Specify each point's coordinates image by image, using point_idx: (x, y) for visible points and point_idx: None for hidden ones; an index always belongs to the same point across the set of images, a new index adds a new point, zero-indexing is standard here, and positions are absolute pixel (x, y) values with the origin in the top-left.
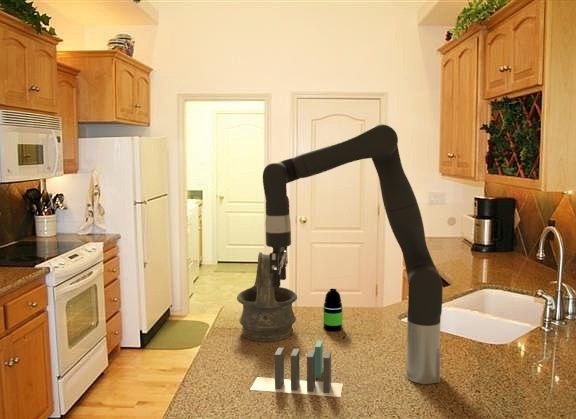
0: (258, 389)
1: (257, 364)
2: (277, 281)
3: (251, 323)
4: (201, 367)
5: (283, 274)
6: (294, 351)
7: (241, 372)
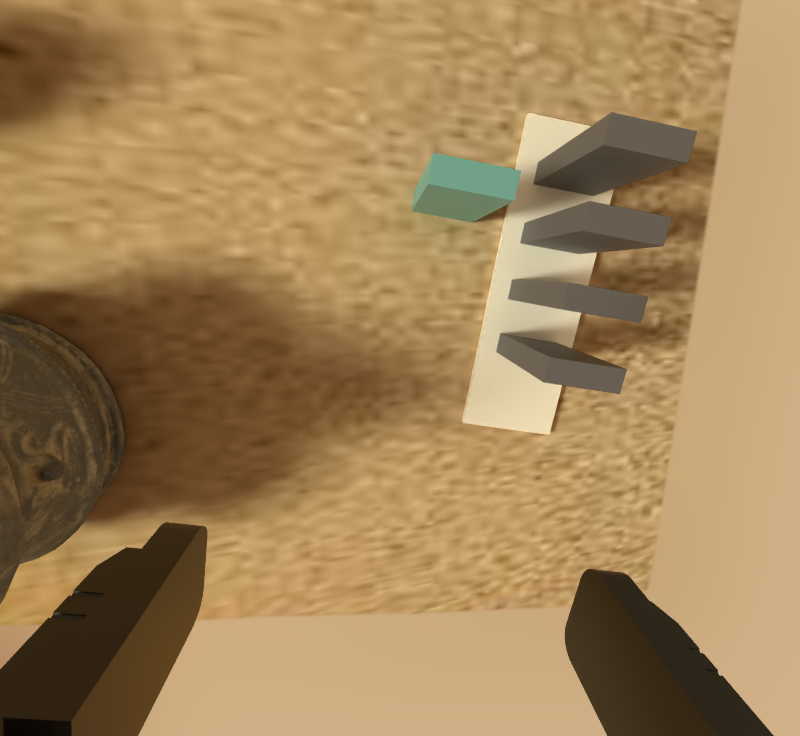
0: (550, 410)
1: (346, 431)
2: (708, 668)
3: (68, 517)
4: (374, 593)
5: (160, 616)
6: (597, 305)
7: (411, 474)
